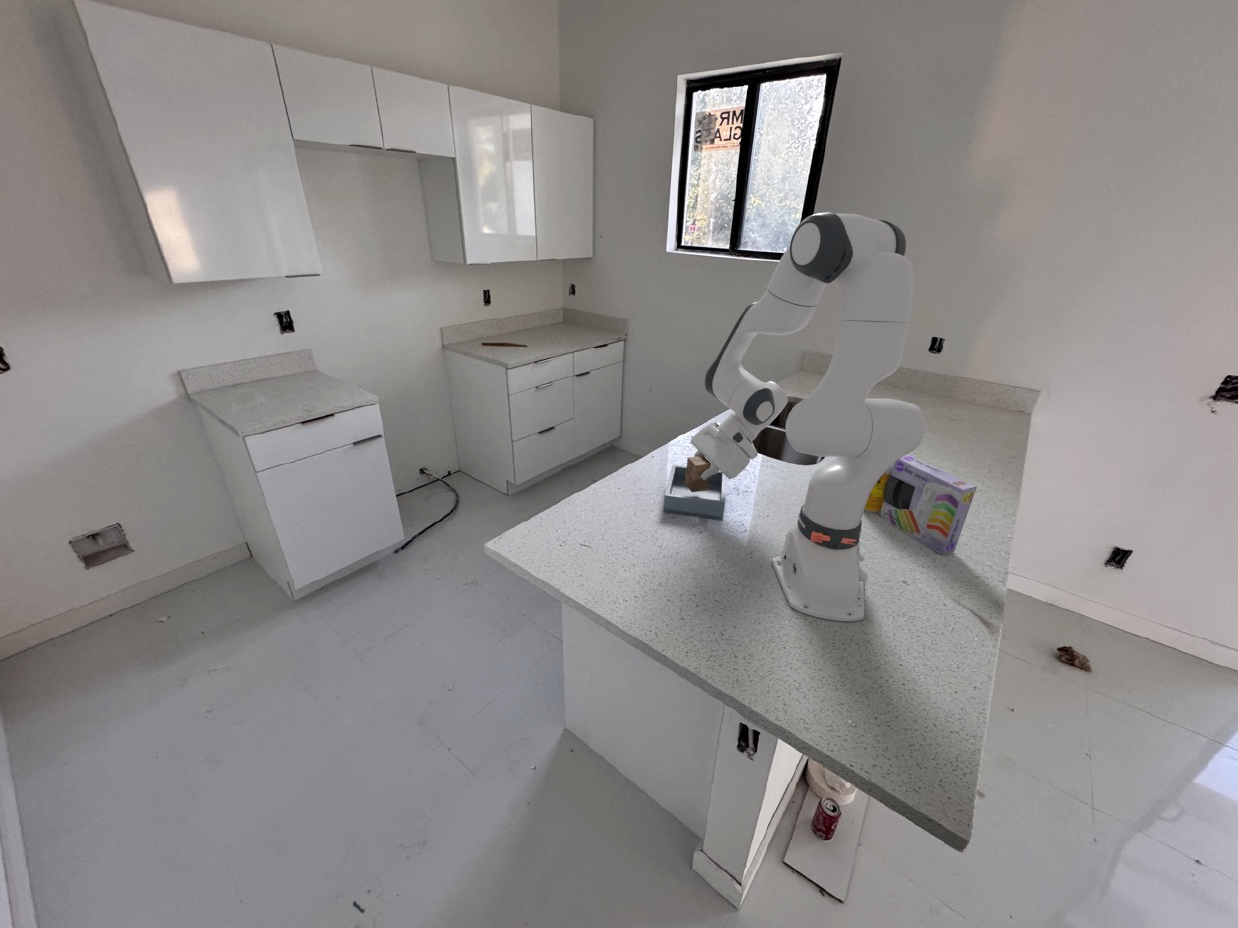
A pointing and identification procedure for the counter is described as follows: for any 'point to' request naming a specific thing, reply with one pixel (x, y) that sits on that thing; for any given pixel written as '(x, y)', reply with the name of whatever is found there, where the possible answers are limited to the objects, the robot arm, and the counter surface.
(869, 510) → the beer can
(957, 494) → the cake pan box
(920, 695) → the counter surface
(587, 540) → the counter surface
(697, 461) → the walnut block
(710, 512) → the tote
